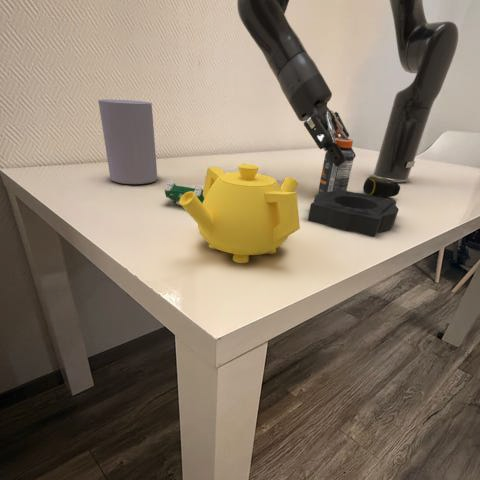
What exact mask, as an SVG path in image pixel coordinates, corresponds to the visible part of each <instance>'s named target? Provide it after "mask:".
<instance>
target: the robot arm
mask: <svg viewBox="0 0 480 480" xmlns="http://www.w3.org/2000/svg"><path fill="white" fill-rule="evenodd" d="M289 3H290V0H237V3H236V4H237V5H236V7H237V12H238V16H239V19H240V21H241V23H242V24H243V27H244V28H245V29H246V31H247V32H248V33H249V35H250V37H251V38H252V39H253V41H254V43H255V44H256V45H257V47H258V48H259V50H261V53H262V54H263V56H264V58H265V60H266V62H267V65H268V66H269V69H270V70H271V71H272V73H273V75H274V77H275V79H276V80H277V82H278V84H279V87H280V89H281V91H282V93H283V95H284V97H285V98H286V100H287V102H288V104H289V105H290V107H291V108H292V110H293V112H294V113H295V116H296V117H297V119H298V120H299V121H300V122H303V126H304V127H305V129H306V130H307V132H308V134H309V135H310V136H311V138H312V139H313V141H314V143H315V144H316V145H317V148H318V149H319V150H323V151H324V152H328V154H329V156H330V158H331V159H332V161H333V163H334V164H335V166H336V167H338V166H340V165H341V164H342V163H344V162H345V161H346V158H345V156H344V154H343V152H342V151H341V149H340V147H339V146H338V144H336V139H335V138H347V139H349V137H350V133H349V132H348V130H347V128H346V126H345V124H344V122H343V120H342V119H341V117H340V114H339V112H337V111H333V110H331V109H330V108H329V107H328V104H329V102H330V100H331V99H332V96H333V92H332V91H331V89H330V87H329V86H328V84H327V81H326V80H325V78H324V76H323V75H322V73H321V72H320V69H319V68H318V66H317V64H316V63H315V61H314V59H312V57H311V56H310V55H309V53H308V52H307V49H306V48H305V46H304V44H303V42H302V41H301V39H300V38H299V36H298V34H297V33H296V31H295V30H294V29H293V27H292V26H291V25H290V23H289V21H288V19H287V17H286V15H285V14H286V11H287V10H288V9H287V8H288V6H289ZM389 6H390V9H391V13H392V18H393V26H394V32H395V39H396V47H397V54H398V58H399V63H400V65H401V68H402V69H403V70H404V71H405V72H407V73H409V74H415V77H414V79H413V81H412V82H411V83H410V84H409V85H407V87H405V88H403V89H401V90H399V91H397V92H396V94H395V96H394V99H393V102H392V106H391V110H390V113H389V118H388V120H387V124H386V128H385V132H384V135H383V139H382V142H381V145H380V149H379V152H378V157H377V160H376V163H375V168H374V171H373V174H372V177H378V178H384V179H387V180H390V181H393V182H395V183H400V184H401V183H407V182H408V181H409V176H410V173H411V170H412V168H414V166H415V163H416V161H415V159H416V156H417V153H418V149H419V147H420V144H421V140H422V138H423V136H424V132H425V130H426V127H427V123H428V119H429V116H430V114H431V111H432V108H433V105H434V103H435V102H436V100H437V98H438V96H439V94H440V93H441V90H442V88H443V85H444V83H445V80H446V78H447V75H448V72H449V70H450V68H451V65H452V62H453V59H454V57H455V54H456V51H457V47H458V43H459V29H458V26H457V25H456V23H454V22H453V21H449V20H448V21H447V20H446V21H445V20H444V21H437V22H431V23H429V22H428V21H427V18H426V14H425V10H424V2H423V0H389ZM339 135H340V136H339ZM351 151H352V152H353V153H354V159H355V158H356V153H355V151H354V150H353V147H351Z"/></svg>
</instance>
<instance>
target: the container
mask: <svg viewBox="0 0 480 480" xmlns="http://www.w3.org/2000/svg"><path fill="white" fill-rule="evenodd" d="M97 101H98V108H99V114H100V121H101V127H102V134H103V139H104V140H103V141H104V146H105V147H104V148H105V153H106V158H107V159H106V160H107V164H108V172H109V178H110V180H111V181H112V182H115V183H117V184H120V185H128V186H142V185H143V186H144V185H150V184H153V183H155V182H156V181H157V180H158V168H157V154H156V142H155V141H156V140H155V129H154V115H153V103H152V102H150V101H142V100H129V99H110V98H109V99H98V100H97Z"/></svg>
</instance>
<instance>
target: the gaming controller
mask: <svg viewBox="0 0 480 480" xmlns="http://www.w3.org/2000/svg"><path fill="white" fill-rule="evenodd" d="M203 190H204V188H202V186H201V184H199V183H198V184H196V185H195V187H194V188H193V187H189V186H182V185H177V184H176V183H174V180H172V179H170V180H168V182H167V183H166V185H165V187H164V196H165V197H166V198H168V199H169V200H172V201H175V204H176V205H177V206H182V205H181V204H180V203H179V201H180V198H181V197H182V196H183V195H184V194H185V193H187V192H189V191H193V192H194V193H195V195H196V196H197V197H198V199H199V200H200V201H201V203H203V201H204V196H203Z"/></svg>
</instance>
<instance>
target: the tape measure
mask: <svg viewBox="0 0 480 480" xmlns="http://www.w3.org/2000/svg"><path fill="white" fill-rule="evenodd" d="M400 191H401V185H400V184H399V183H398V182H393V181H390V180H387V179H384V178H378V177H373V176H369V177H367V178H366V179H365V180H364V183H363V186H362V192H364V194H367V195H372V196H376V197H379V198H384V199H388V198H392V197H396V196H398V195H399V194H400Z"/></svg>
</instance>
